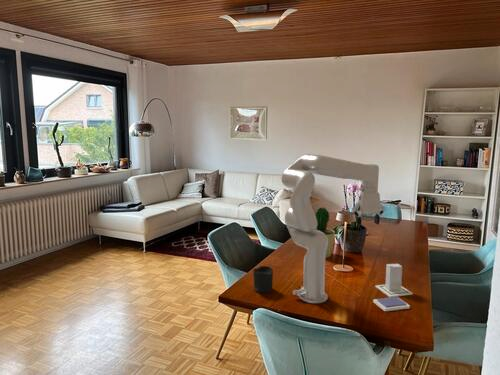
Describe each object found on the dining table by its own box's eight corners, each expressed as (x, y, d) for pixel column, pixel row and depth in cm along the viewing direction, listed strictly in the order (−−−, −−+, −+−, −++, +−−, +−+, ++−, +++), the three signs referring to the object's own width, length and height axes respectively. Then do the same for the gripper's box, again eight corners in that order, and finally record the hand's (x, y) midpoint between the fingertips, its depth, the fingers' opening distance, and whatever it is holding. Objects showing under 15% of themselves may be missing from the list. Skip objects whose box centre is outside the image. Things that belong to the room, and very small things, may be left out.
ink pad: (384, 311, 159) (385, 307, 159) (373, 302, 168) (373, 298, 168) (409, 308, 162) (410, 304, 162) (397, 299, 171) (397, 295, 171)
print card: (389, 297, 173) (389, 295, 173) (375, 286, 184) (375, 285, 184) (412, 294, 176) (412, 292, 175) (397, 284, 187) (397, 282, 187)
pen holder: (253, 285, 186) (253, 265, 185) (272, 285, 186) (272, 266, 184) (253, 293, 177) (253, 273, 175) (273, 293, 177) (273, 273, 175)
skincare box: (396, 287, 182) (398, 263, 180) (401, 291, 178) (403, 266, 176) (384, 287, 182) (385, 263, 180) (389, 291, 177) (390, 267, 175)
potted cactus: (323, 260, 220) (325, 210, 216) (303, 254, 232) (304, 206, 227) (339, 255, 230) (341, 206, 226) (319, 249, 242) (320, 203, 237)
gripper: (356, 191, 178) (355, 226, 181) (390, 190, 182) (387, 225, 184) (349, 189, 185) (347, 223, 188) (381, 188, 189) (379, 221, 191)
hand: (367, 224), depth 186 cm, fingers open, 9 cm apart
